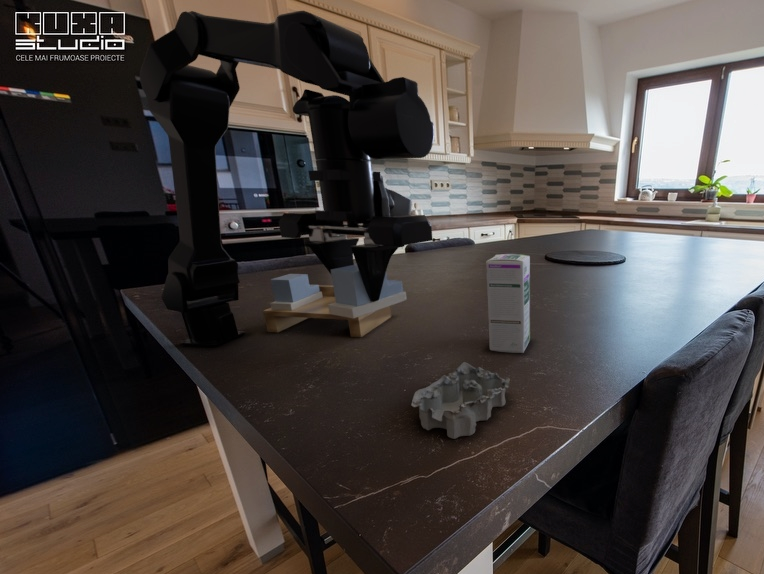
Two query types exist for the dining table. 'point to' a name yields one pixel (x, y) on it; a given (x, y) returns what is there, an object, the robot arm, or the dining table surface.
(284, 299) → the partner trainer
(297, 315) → the shoe shelf
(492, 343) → the syrup box
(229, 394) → the dining table surface
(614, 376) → the dining table surface
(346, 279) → the trainer
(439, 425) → the egg carton
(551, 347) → the dining table surface
